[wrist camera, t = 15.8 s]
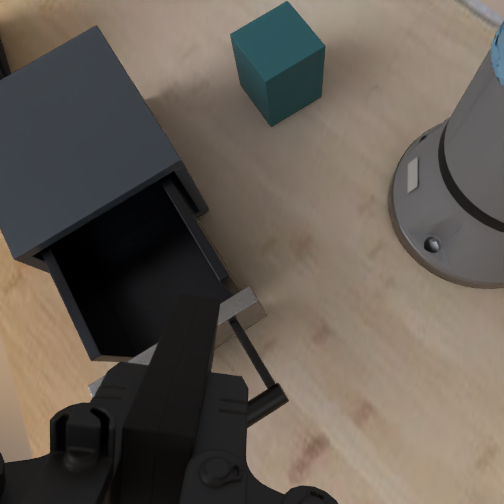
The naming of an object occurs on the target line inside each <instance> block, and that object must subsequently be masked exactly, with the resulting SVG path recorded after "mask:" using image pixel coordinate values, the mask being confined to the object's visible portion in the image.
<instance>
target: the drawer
mask: <svg viewBox="0 0 504 504" xmlns="http://www.w3.org/2000/svg"><path fill="white" fill-rule="evenodd" d="M40 252H41V254H42V257H43V259H44V261H45V263H46V265H47V267H48V269H49V272H50V274H51V276H52V278H53V280H54V282H55V285H56V287H57V289H58V291H59V293H60V295H61V297H62V300H63V302H64V304H65V306H66V308H67V310H68V312H69V315H70V317H71V319H72V321H73V323H74V325H75V328H76V330H77V332H78V334H79V336H80V338H81V340H82V343H83V345H84V347H85V349H86V351H87V353H88V355H89V358H90V360H91V361H107V362H128V363H136V364H143V365H149V363H150V361H151V358H152V356H153V353H154V351H155V349H156V346H157V344H158V342H159V339H160V337H161V334H162V332H163V330H164V327H165V325H166V323H167V320H168V318H169V315H170V313H171V311H172V308H173V306H174V304H175V301H176V299H177V297H178V294H179V293H180V294H187V295H194V296H201V297H208V298H215V299H221V303H220V310H219V318H218V325H217V332H216V340H215V347H214V349H215V348H217V347H218V346H220V345H222V344H223V343H225V342H226V341H228V340H230V339H231V338H233V337H234V336H237V337H238V339H239V341H240V342H241V344H242V346H243V347H244V349H245V351H246V353H247V354H248V356H249V358H250V359H251V361H252V363H253V365H254V366H255V368H256V370H257V371H258V373H259V375H260V377H261V378H262V380H263V382H264V383H265V385H266V387H267V388H268V389H267V390H265V391H264V392H262V393H261V394H259V395H258V396H256V397H254V398H253V399H251V400H250V401H248V413H247V428H248V427H250V426H251V425H253V424H254V423H256V422H257V421H259V420H261V419H262V418H264V417H265V416H267V415H268V414H270V413H272V412H273V411H275V410H276V409H278V408H279V407H281V406H282V405H284V404H286V403H287V402H289V400H288V398H287V396H286V394H285V392H284V391H283V389H282V387H281V386H280V384H279V383H276V384H275V382H274V380H273V378H272V377H271V375H270V373H269V372H268V370H267V368H266V367H265V365H264V363H263V362H262V360H261V358H260V357H259V355H258V353H257V352H256V350H255V348H254V346H253V345H252V343H251V341H250V340H249V338H248V336H247V335H246V333H245V331H244V330H245V329H247V328H249V327H250V326H252V325H253V324H255V323H257V322H258V321H260V320H261V319H263V318H265V317H266V316H267V314H266V312H265V310H264V309H263V307H262V305H261V304H260V302H259V300H258V299H257V297H256V295H255V294H254V292H253V291H252V289H251V287H250V286H248V287H246V288H245V289H243V290H242V291H241V289H240V288H239V286H238V285H237V283H236V281H235V280H234V278H233V276H232V275H231V273H230V271H229V270H228V268H227V266H226V265H225V263H224V262H223V260H222V258H221V257H220V255H219V253H218V252H217V250H216V248H215V247H214V245H213V244H212V242H211V240H210V239H209V237H208V235H207V234H206V232H205V230H204V229H203V227H202V225H201V224H200V222H199V221H198V219H197V217H196V216H195V214H194V212H193V211H192V209H191V207H190V206H189V204H188V203H187V201H186V199H185V198H184V196H183V195H182V193H181V192H180V190H179V189H178V187H177V186H176V184H175V183H174V181H173V180H172V178H171V177H170V175H169V174H168V175H166V176H165V177H163V178H161V179H160V180H158V181H156V182H155V183H153V184H151V185H150V186H148V187H146V188H145V189H143V190H141V191H140V192H138V193H136V194H135V195H133V196H131V197H130V198H128V199H126V200H125V201H123V202H121V203H120V204H118V205H116V206H115V207H113V208H111V209H110V210H108V211H106V212H105V213H103V214H101V215H100V216H98V217H96V218H95V219H93V220H91V221H90V222H88V223H86V224H85V225H83V226H81V227H80V228H78V229H76V230H75V231H73V232H71V233H70V234H68V235H66V236H65V237H63V238H61V239H60V240H58V241H56V242H55V243H53V244H51V245H50V246H48V247H46V248H45V249H43V250H41V251H40ZM104 377H105V376H103V377H102V378H100V379H98V380H97V381H95V382H94V383H92V384H90V385H89V386H88V388H89V391H90V393H91V395H92V397H94V396H95V393H96V391H97V389H98V387H99V386H100V385H101V382H102V380H103V379H104Z"/></svg>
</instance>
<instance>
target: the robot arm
mask: <svg viewBox="0 0 504 504" xmlns="http://www.w3.org/2000/svg"><path fill="white" fill-rule="evenodd" d="M388 206H389V214H390V219H391V222H392V226H393V228H394V230H395V233H396V235H397V237H398V239H399V240H400V242H401V243H402V245H403V246H404V248H405V249H406V250H407V252H408V253H409V254H410V255H411V256H412V257H413V258H414V259H415V260H416V261H417V262H418V263H419V264H420V265H422V266H423V267H424V268H426V269H427V270H428V271H430V272H431V273H433V274H435V275H437V276H438V277H440V278H443V279H445V280H447V281H450V282H452V283H455V284H459V285H462V286H467V287H472V288H482V289H493V288H503V287H504V21H503V23H502V25H501V26H500V28H499V29H498V31H497V32H496V35H495V37H494V40H493V42H492V44H491V48H490V50H489V52H488V54H487V55H486V57H485V59H484V60H483V62H482V64H481V66H480V67H479V69H478V71H477V72H476V74H475V76H474V78H473V79H472V81H471V83H470V84H469V86H468V88H467V90H466V91H465V93H464V95H463V96H462V98H461V100H460V102H459V103H458V105H457V107H456V108H455V110H454V112H453V114H452V115H451V117H449V118H448V119H446V120H445V121H444V122H443V123H441V124H439V125H437V126H435V127H434V128H432V129H430V130H428V131H427V132H425V133H424V134H422V135H421V136H420V137H419V138H417V139H416V140H415V141H414V142H413V143H412V144H411V145H410V147H409V148H408V149H407V150H406V152H405V153H404V155H403V156H402V158H401V160H400V162H399V164H398V166H397V168H396V170H395V172H394V174H393V177H392V180H391V183H390V187H389V194H388ZM220 303H221V299H215V298H208V297H201V296H194V295H187V294H180V293H179V294H178V297H177V299H176V301H175V304H174V306H173V308H172V311H171V313H170V315H169V318H168V320H167V323H166V325H165V327H164V330H163V332H162V334H161V337H160V339H159V342H158V344H157V346H156V349H155V351H154V353H153V356H152V358H151V361H150V363H149V365H143V364H136V363H128V362H120V363H118V364H117V365H115V366H114V367H113V368H111V369H110V370H109V371H108V372H107V373H106V375H105V377H104V379H103V380H102V382H101V385H100V386H99V387H98V389H97V391H96V393H95V396H94V397H93V398H92V400H91V402H90V403H79V404H75V405H71V406H68V407H66V408H64V409H62V410H61V411H59V412H57V413H56V414H55V415H54V416H53V417H52V418H51V420H50V453H49V454H47V455H45V456H42V457H39V458H34V459H30V460H23V461H15V462H8V463H4V460H3V457H2V455H1V453H0V504H338V503H337V501H336V500H335V499H334V498H333V497H331V496H330V495H329V494H328V493H327V492H325V491H323V490H320V489H318V488H316V487H312V486H298V487H295V488H291V489H290V490H289V491H288V492H287V493H286V494H282V493H280V492H277V491H275V490H273V489H271V488H269V487H267V486H265V485H263V484H262V483H261V482H259V481H258V480H257V479H256V478H255V477H254V476H253V474H252V473H251V472H250V470H249V468H248V465H247V462H246V438H247V413H248V387H247V385H246V383H245V381H244V380H243V378H242V376H234V375H227V374H219V373H212V372H211V368H212V362H213V355H214V347H215V340H216V332H217V325H218V318H219V310H220Z"/></svg>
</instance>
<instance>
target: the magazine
mask: <svg viewBox="0 0 504 504" xmlns="http://www.w3.org/2000/svg"><path fill="white" fill-rule="evenodd" d="M10 74H11V72H10V69H9V66H8V63H7V59H6V56H5V53H4V49H3V46H2V43H1V40H0V80H2V79H3V78H5V77H7V76H8V75H10Z"/></svg>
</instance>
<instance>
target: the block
mask: <svg viewBox="0 0 504 504" xmlns="http://www.w3.org/2000/svg"><path fill="white" fill-rule="evenodd" d="M230 36H231V41H232V46H233V51H234V56H235V60H236V65H237V70H238V75H239V80H240V85H241V86H242V88H243V89H244V91H245V92H246V93H247V95H248V96H249V97H250V99H251V100H252V102H253V103H254V104H255V106H256V107H257V108H258V110H259V111H260V113H261V114H262V115H263V117H264V118H265V119H266V121H267V122H268V124H269V125H270V126H271V127H272V126H273V125H275V124H277V123H278V122H280V121H282V120H283V119H285V118H287V117H288V116H290V115H292V114H293V113H295V112H297V111H298V110H300V109H302V108H303V107H305V106H307V105H308V104H310V103H312V102H313V101H315V100H317V99H318V98H320V97H321V95H322V83H323V70H324V58H325V45H324V44H323V43H322V41H321V40H320V39H319V38H318V37H317V35H316V34H315V33H314V32H313V31H312V29H311V28H310V27H309V26H308V25H307V24H306V22H305V21H304V20H303V19H302V18H301V16H300V15H299V14H298V13H297V12H296V10H295V9H294V8H293V7H292V6H291V4H290V3H289V2H288V1H286V2H285V3H283V4H281V5H279V6H278V7H276V8H274V9H273V10H271V11H269V12H267V13H266V14H264V15H262V16H261V17H259V18H257V19H256V20H254V21H252V22H250V23H249V24H247V25H245V26H244V27H242V28H240V29H238V30H237V31H235V32H233V33H232V34H230Z"/></svg>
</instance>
